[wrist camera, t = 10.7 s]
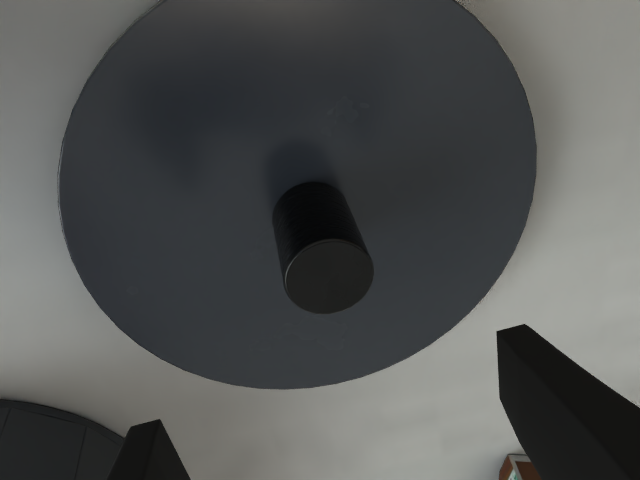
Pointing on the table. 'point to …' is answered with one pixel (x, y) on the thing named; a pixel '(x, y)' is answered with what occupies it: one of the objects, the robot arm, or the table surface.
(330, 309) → the lid
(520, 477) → the food container
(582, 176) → the table surface
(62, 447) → the pot
